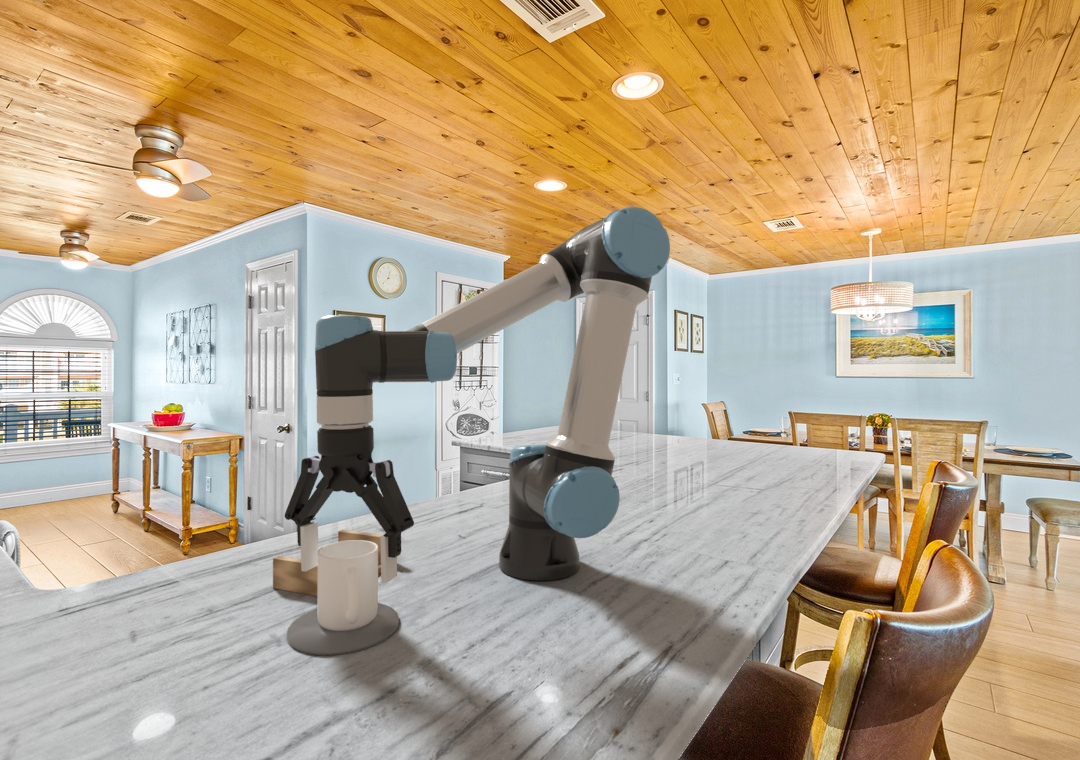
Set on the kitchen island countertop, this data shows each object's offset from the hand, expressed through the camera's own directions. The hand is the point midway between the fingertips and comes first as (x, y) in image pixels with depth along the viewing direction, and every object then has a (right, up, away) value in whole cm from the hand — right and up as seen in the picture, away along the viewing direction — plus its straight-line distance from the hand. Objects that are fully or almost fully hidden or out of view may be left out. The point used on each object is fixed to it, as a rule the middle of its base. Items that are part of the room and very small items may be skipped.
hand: (348, 573), depth 79 cm
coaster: (-1, -8, 0) cm, 8 cm away
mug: (0, -7, 0) cm, 7 cm away
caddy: (-9, -7, +20) cm, 23 cm away
